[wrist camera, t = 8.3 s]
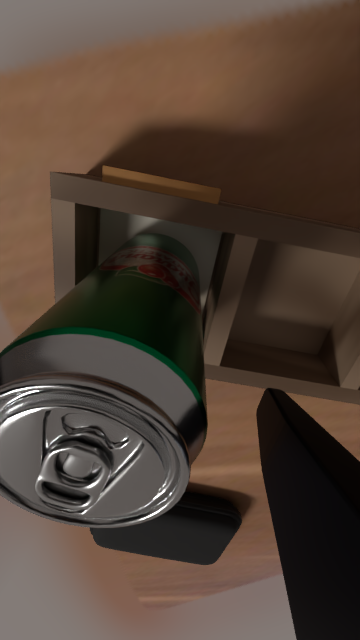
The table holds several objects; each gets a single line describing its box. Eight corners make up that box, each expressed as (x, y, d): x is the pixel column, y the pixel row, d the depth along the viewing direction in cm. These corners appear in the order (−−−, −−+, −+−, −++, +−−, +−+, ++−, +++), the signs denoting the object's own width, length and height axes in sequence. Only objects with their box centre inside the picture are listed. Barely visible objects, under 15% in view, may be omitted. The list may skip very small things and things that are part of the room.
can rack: (426, 380, 20) (477, 424, 16) (83, 320, 19) (57, 352, 15) (526, 250, 15) (628, 270, 12) (85, 161, 14) (49, 154, 11)
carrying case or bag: (92, 523, 31) (213, 545, 32) (82, 555, 29) (215, 578, 30) (102, 467, 26) (244, 495, 28) (92, 499, 24) (250, 529, 25)
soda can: (214, 255, 15) (263, 431, 4) (177, 326, 17) (150, 559, 7) (130, 214, 14) (-54, 310, 4) (102, 294, 17) (-64, 498, 6)
